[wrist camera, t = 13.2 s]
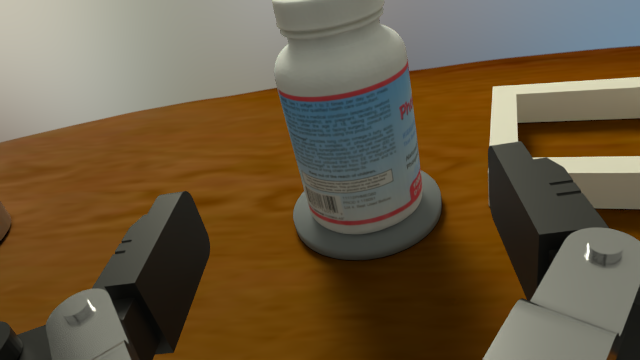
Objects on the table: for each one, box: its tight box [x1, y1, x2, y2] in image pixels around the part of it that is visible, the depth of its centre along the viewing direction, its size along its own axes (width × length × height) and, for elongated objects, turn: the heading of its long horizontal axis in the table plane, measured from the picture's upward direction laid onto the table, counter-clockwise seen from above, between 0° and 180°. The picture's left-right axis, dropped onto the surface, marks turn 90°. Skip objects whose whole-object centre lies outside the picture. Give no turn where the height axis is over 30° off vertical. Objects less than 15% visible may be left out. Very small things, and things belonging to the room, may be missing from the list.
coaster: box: [293, 171, 442, 260], centre depth 26 cm, size 8×8×1 cm
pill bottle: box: [272, 0, 423, 234], centre depth 23 cm, size 6×6×11 cm
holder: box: [488, 77, 640, 209], centre depth 26 cm, size 10×10×2 cm
